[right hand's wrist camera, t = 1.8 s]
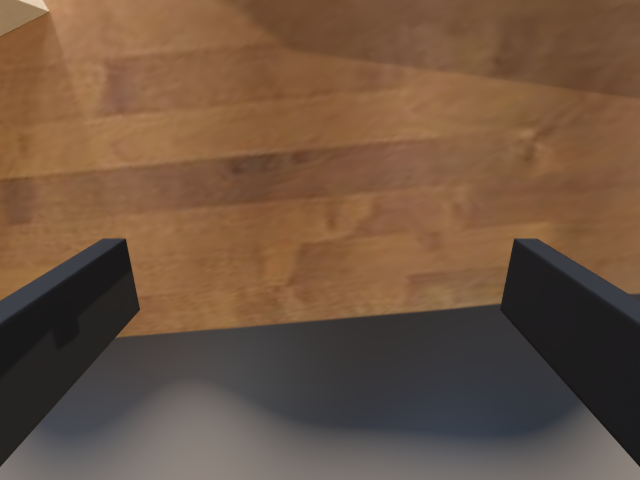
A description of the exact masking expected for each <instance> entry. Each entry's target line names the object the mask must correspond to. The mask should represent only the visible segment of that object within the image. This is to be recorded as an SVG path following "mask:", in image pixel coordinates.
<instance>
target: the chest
mask: <svg viewBox="0 0 640 480" xmlns="http://www.w3.org/2000/svg"><path fill="white" fill-rule="evenodd" d="M47 12H49V10H48V9H47V7H46V5H45V3H44V1H43V0H0V36H2V35H4V34H6V33H8V32H10V31H12V30H14V29H16V28H18V27H20V26H22V25H24V24H26V23H28V22H30V21H31V20H33V19H35V18H37V17H39V16H41V15H43V14H45V13H47Z"/></svg>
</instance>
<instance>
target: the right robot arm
mask: <svg viewBox="0 0 640 480" xmlns="http://www.w3.org/2000/svg"><path fill="white" fill-rule="evenodd" d="M139 310H140V308H139V303H138V298H137V293H136V288H135V283H134V278H133V273H132V268H131V263H130V258H129V253H128V248H127V243H126V239H102V240H100V241H98V242H97V243H95V244H93V245H92V246H90V247H88V248H87V249H85V250H83V251H82V252H80V253H79V254H77V255H75V256H74V257H72V258H70V259H69V260H67V261H65V262H64V263H62V264H60V265H59V266H57V267H55V268H54V269H52V270H50V271H49V272H47V273H46V274H44V275H42V276H41V277H39V278H37V279H36V280H34V281H32V282H31V283H29V284H27V285H26V286H24V287H22V288H21V289H19V290H17V291H16V292H14V293H13V294H11V295H9V296H8V297H6V298H4V299H3V300H1V301H0V466H1V465H2V464H3V463H4V462H5V461H6V460H7V459H8V457H9V456H10V455H11V454H12V453H13V452H14V451H15V450H16V448H17V447H18V446H19V445H20V444H21V443H22V442H23V441H24V439H25V438H26V437H27V436H28V435H29V434H30V433H31V432H32V430H33V429H34V428H35V427H36V426H37V425H38V424H39V423H40V421H41V420H42V419H43V418H44V417H45V416H46V415H47V414H48V413H49V411H50V410H51V409H52V408H53V407H54V406H55V405H56V403H57V402H58V401H59V400H60V399H61V398H62V397H63V396H64V395H65V393H66V392H67V391H68V390H69V389H70V388H71V387H72V386H73V384H74V383H75V382H76V381H77V380H78V379H79V378H80V377H81V375H82V374H83V373H84V372H85V371H86V370H87V369H88V368H89V366H90V365H91V364H92V363H93V362H94V361H95V360H96V359H97V357H98V356H99V355H100V354H101V353H102V352H103V351H104V349H105V348H106V347H107V346H108V345H109V344H110V343H111V342H112V341H113V339H114V338H115V337H116V336H117V335H118V334H119V333H120V332H121V330H122V329H123V328H124V327H125V326H126V325H127V324H128V323H129V321H130V320H131V319H132V318H133V317H134V316H135V315H136V314H137V312H138V311H139ZM500 310H501V311H502V312H503V314H504V315H505V316H506V317H507V318H508V319H509V320H510V321H511V323H512V324H513V325H514V326H515V327H516V328H517V329H518V330H519V332H520V333H521V334H522V335H523V336H524V337H525V338H526V339H527V341H528V342H529V343H530V344H531V345H532V346H533V347H534V348H535V349H536V351H537V352H538V353H539V354H540V355H541V356H542V357H543V359H544V360H545V361H546V362H547V363H548V364H549V365H550V366H551V368H552V369H553V370H554V371H555V372H556V373H557V374H558V375H559V376H560V378H561V379H562V380H563V381H564V382H565V383H566V384H567V385H568V387H569V388H570V389H571V390H572V391H573V392H574V393H575V395H576V396H577V397H578V398H579V399H580V400H581V401H582V402H583V403H584V405H585V406H586V407H587V408H588V409H589V410H590V411H591V413H592V414H593V415H594V416H595V417H596V418H597V419H598V420H599V421H600V423H601V424H602V425H603V426H604V427H605V428H606V429H607V431H608V432H609V433H610V434H611V435H612V436H613V437H614V438H615V440H616V441H617V442H618V443H619V444H620V445H621V446H622V447H623V448H624V450H625V451H626V452H627V453H628V454H629V455H630V456H631V457H632V459H633V460H634V461H635V462H636V463H637V464H638V465H639V466H640V301H639V300H637V299H636V298H634V297H632V296H631V295H629V294H627V293H626V292H624V291H623V290H621V289H619V288H618V287H616V286H614V285H613V284H611V283H609V282H608V281H606V280H604V279H603V278H601V277H599V276H598V275H596V274H594V273H593V272H591V271H590V270H588V269H586V268H585V267H583V266H581V265H580V264H578V263H576V262H575V261H573V260H571V259H570V258H568V257H566V256H565V255H563V254H561V253H560V252H558V251H557V250H555V249H553V248H552V247H550V246H548V245H547V244H545V243H543V242H542V241H540V240H538V239H514V243H513V248H512V253H511V258H510V263H509V268H508V273H507V278H506V283H505V288H504V293H503V298H502V303H501V308H500Z"/></svg>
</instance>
